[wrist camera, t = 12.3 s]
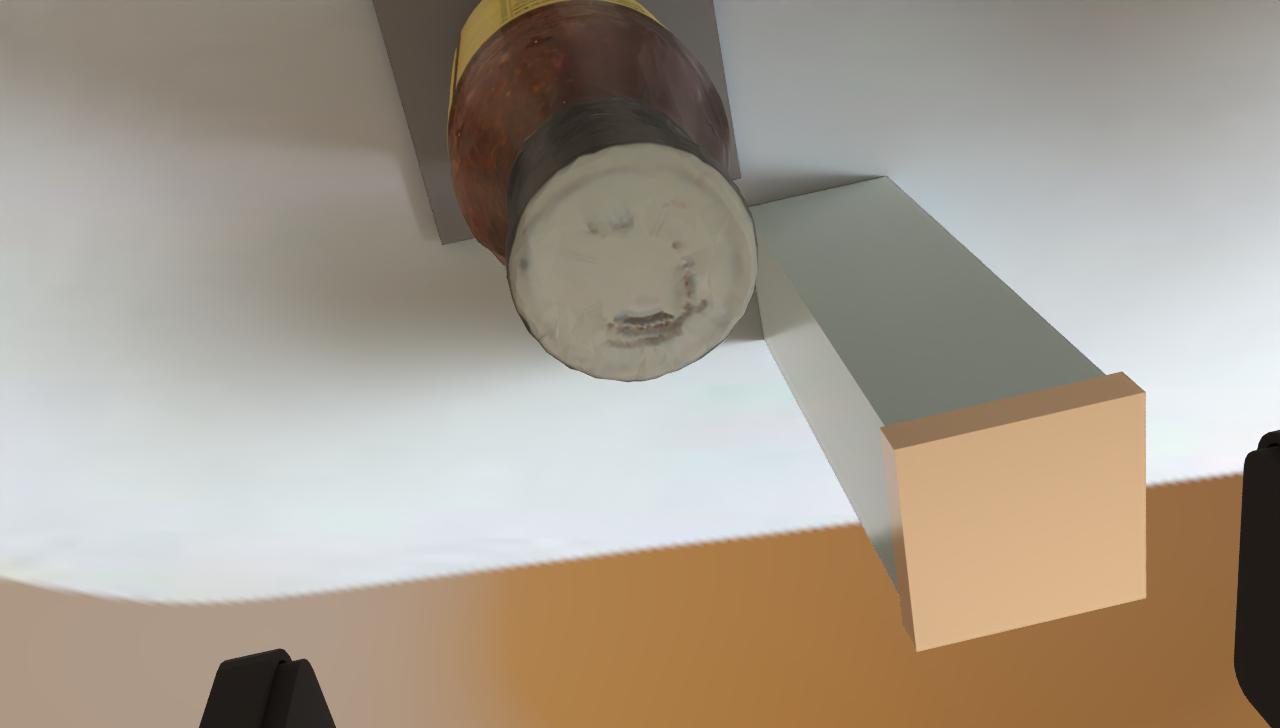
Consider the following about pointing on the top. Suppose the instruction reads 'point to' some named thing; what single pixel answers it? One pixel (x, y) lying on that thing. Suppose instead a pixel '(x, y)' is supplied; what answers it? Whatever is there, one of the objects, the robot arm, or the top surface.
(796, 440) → the top surface
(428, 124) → the plate
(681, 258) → the sauce bottle
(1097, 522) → the canister
